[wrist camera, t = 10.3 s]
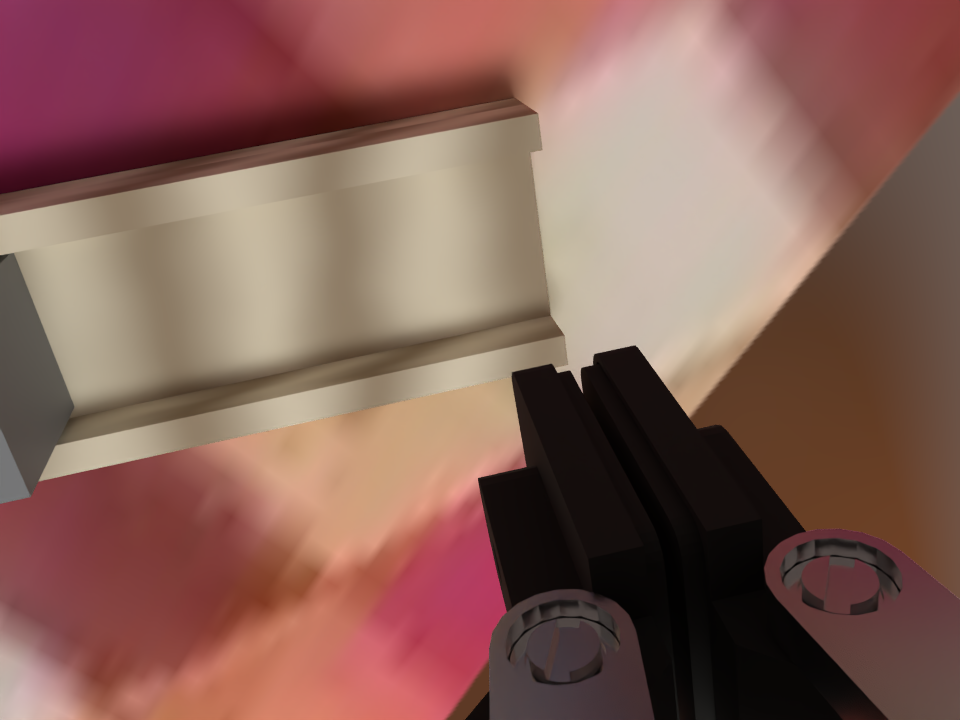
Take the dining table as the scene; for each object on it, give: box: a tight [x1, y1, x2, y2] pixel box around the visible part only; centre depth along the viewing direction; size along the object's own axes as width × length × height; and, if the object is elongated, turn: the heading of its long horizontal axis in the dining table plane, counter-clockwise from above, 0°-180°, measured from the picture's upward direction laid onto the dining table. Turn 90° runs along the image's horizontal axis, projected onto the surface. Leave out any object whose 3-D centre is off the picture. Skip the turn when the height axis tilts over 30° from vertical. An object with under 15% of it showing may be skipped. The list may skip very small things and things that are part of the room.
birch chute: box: [0, 98, 568, 481], centre depth 31 cm, size 26×9×4 cm, turn 99°
